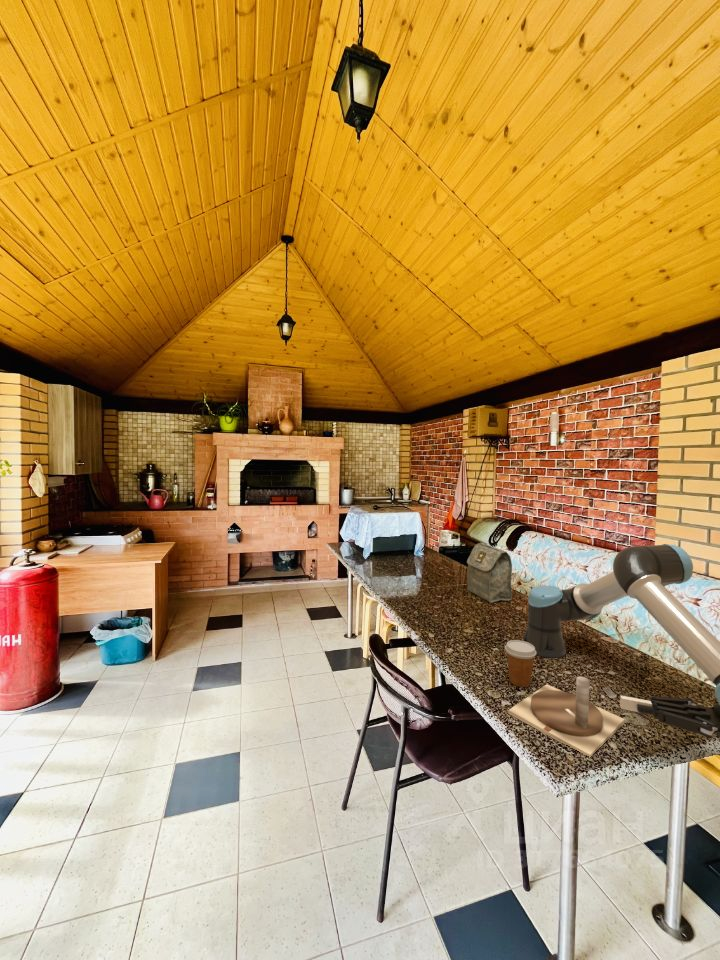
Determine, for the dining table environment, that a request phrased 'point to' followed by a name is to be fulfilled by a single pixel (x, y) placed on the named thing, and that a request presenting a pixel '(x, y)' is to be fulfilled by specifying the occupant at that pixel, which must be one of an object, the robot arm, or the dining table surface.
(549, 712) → the dial
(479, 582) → the bag
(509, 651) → the disposable coffee cup
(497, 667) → the dining table surface
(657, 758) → the dining table surface
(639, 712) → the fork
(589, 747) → the dial base
